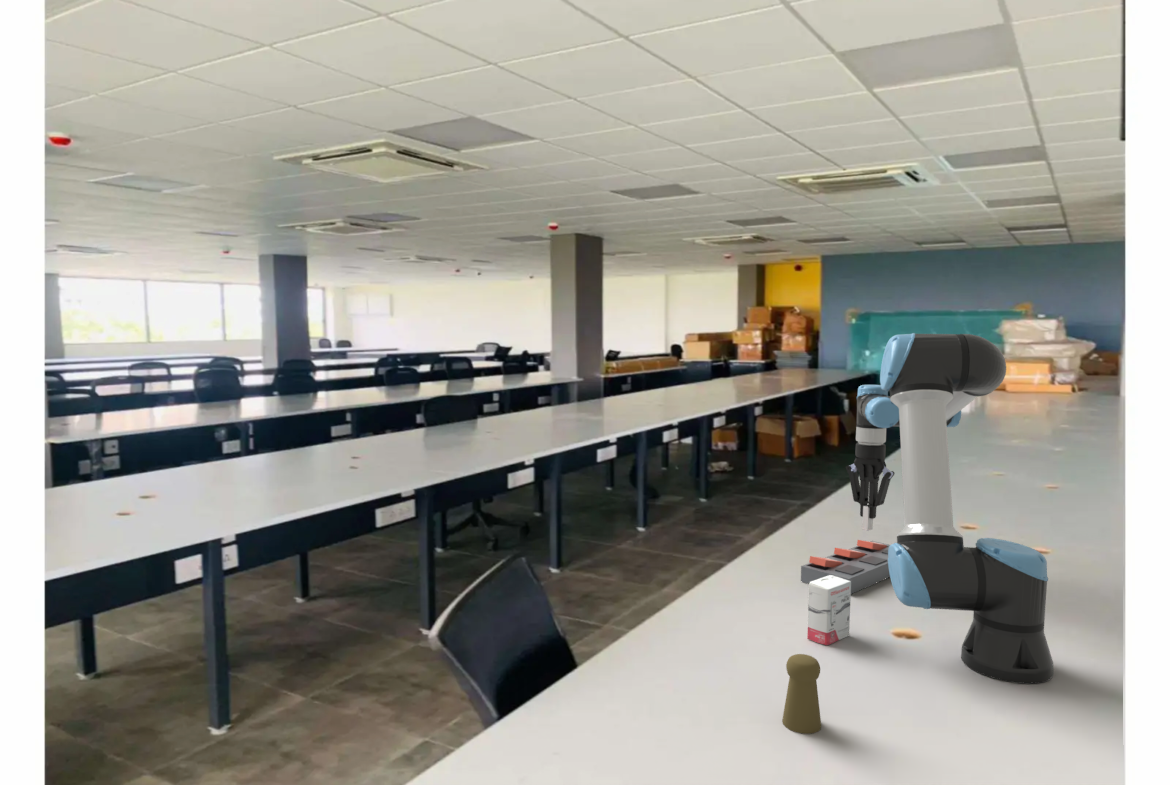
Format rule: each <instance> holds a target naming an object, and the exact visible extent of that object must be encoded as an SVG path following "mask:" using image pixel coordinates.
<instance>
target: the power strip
mask: <svg viewBox="0 0 1170 785" xmlns="http://www.w3.org/2000/svg"><path fill="white" fill-rule="evenodd" d="M869 542H875V543H880V544H883V545H887V548H884V549H881V550H875V549H869V548H865V547H861V546H857V545H855V546H854V547H852V548H851V547H850V548H849V549H848V550H854V551H858V552H862V553H866V554H865V556H863V557H860V558H849V557H845V556H841V555H837V554H834V553H833V554H831V555H828V556H825V557H824V558H829V559H833V560H836V561H840V562H842V564H841V565H839V566H836V567H824V566H821V565H817V564H813V563H809V562H808V563H806V564H803V565H801V566H800V582H801V581H802V582H801V583H804V582H805V583H804V584H807V583H810V582H811V581H814V580H817V579H820V578H823V577H825V576H828V575H833V576H836V577H839V578H842V579H845V580H848V581H851V595H853V594H855V593H858V592H859V590H860V591H862V590H864V589H866V588H865V587H867V588H868V586H869V587H870V585H871V586H873V585H872V584H874V585H876V584H877V583H876V582H878V583H880V582H879V581H881V580H883V579H885V578H887V579H889V578H888V577H890V573H889V567H888V558H889V557H888V549H889V546H890V545H891V544H887V543H884V542H879V541H874V540H870V541H869ZM885 580H886V579H885ZM883 581H884V580H883ZM881 582H882V581H881ZM875 583H876V584H875ZM863 588H864V589H863ZM861 589H862V590H861ZM854 592H855V593H854ZM852 593H853V594H852Z"/></svg>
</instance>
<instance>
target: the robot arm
mask: <svg viewBox="0 0 1170 785" xmlns="http://www.w3.org/2000/svg"><path fill="white" fill-rule="evenodd" d="M885 345H886V346H885V348H884V351H883V355H882V360H881V365H880V373H879V374H880V375H879V383H880V384H862V385H861V384H860V386H858V388H857V394H856V395H857V396H856V426H855V428H856V430H855V441H856V443H855V452H854V453H855V459H854V461H853V463H852V464H850V465H846V466H845V469H846V472H847V474H848V478H849V482H850V488H851V493H852V498H853V501H854V502H856V503H858V504H859V506H860V510H859V512H860V513H859V515H860V517H862V526H861V527H862V528H861V530H862V531H866V532H869V531H871V530H873V527H874V526H873V524H874V519H876V518H877V507H878V506H882V505H884V504H885V500H886V497H887V494H888V490H889V487H890V482H891V479H892V478H893V477H894V476H895V472H894V470H889V468H887V464H886V461H885V459H886V449H887V448H886V446H887V445H886V444H885V443H886V442H887V429H888V428H889V429H890V428H892V427H899V436H900V437H899V438H900V439H899V442H900V456H901V457H900V461H901V476H902V477H901V478H902V497H903V498H902V500H903V517H904V518H903V519H904V525H903V526H904V527H903V528H902V530H900V531H899V532H898V533H897V534H896V542H894V543H891V544H889V545H890V546H889V549H888V557H889V558H888V567H889V573H890V581H891V585H892V588H893V591H894V594H895V596H896V598H897V599H898V600H899V602H900V603H901V604H903V605H905V606H907V607H910V608H911V607H912V608H920V609H921V608H922V609H924V610H929V609H934V610H949V611H950V610H951V611H973V614H972V617H973V618H972V622H971V623H970V626H969V629H968V631H967V633H966V635H965V637H964V640H963V642H962V644H961V655H960V658H961V661H962V663H964V665H965V666H967V667H968V668H969V669H971V670H973V671H974V672H976V673H979V674H981V675H983V676H986V677H988V678H992V679H996V680H999V681H1005V682H1009V683H1010V682H1011V683H1014V684H1015V683H1017V684H1040V683H1045V682H1048V681H1049V680H1051V679H1052V678H1053V676H1054V661H1053V656H1052V655H1051V651H1050V648H1049V644H1048V641H1047V638H1046V634H1045V619H1046V605H1047V604H1046V603H1047V587H1048V581H1049V578H1048V562H1047V558H1046V557H1045V556H1044V554H1042V553H1041V552H1040V551H1038V550H1037V549H1035V548H1032V547H1030V546H1028V545H1024V544H1020V543H1017V542H1014V541H1011V540H1010V541H1009V540H1005V539H1001V538H1000V539H999V538H993V537H984V538H982V537H981V538H979V539H977V540H976V543H975V547H971V546H969V547H968V546H964V536H963V535H962V534H961V533H960V532H959V531H958V530H956V528H955V527H954V519H953V518H954V517H953V516H954V515H953V504H952V503H953V502H952V490H951V488H952V487H951V486H952V484H951V472H950V459H949V457H950V456H949V442H948V428H955V427H957V426H959V424H960V421H961V418H962V410H963V409H964V408H966V407H967V406H968V405H969V404H971V403H972V402H973V401H974V400H975V399H977V398H978V397H979V398H980V397H984V396H987V395H989V394H991V393H992V392H994V391H996V390H997V389H998V388H999V386H1001V384H1002V383H1003V382H1004V380H1005V377H1006V374H1007V362H1006V358H1005V356H1004V354H1003V353H1002V351H1001V350H1000V348H998V347H997V346H996V345H995V343H993V342H991V341H990V340H988V339H987V338H984V337H982V336H980V335H976V334H975V335H974V334H970V333H960V334H959V333H955V334H954V333H915V332H912V333H906V334H905V333H904V334H903V333H902V334H895V335H893V336H891V337H890V338H889V340H888V341H887V343H886V344H885ZM881 475H882V478H881V481H880V476H881ZM879 481H880V485H879Z"/></svg>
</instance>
